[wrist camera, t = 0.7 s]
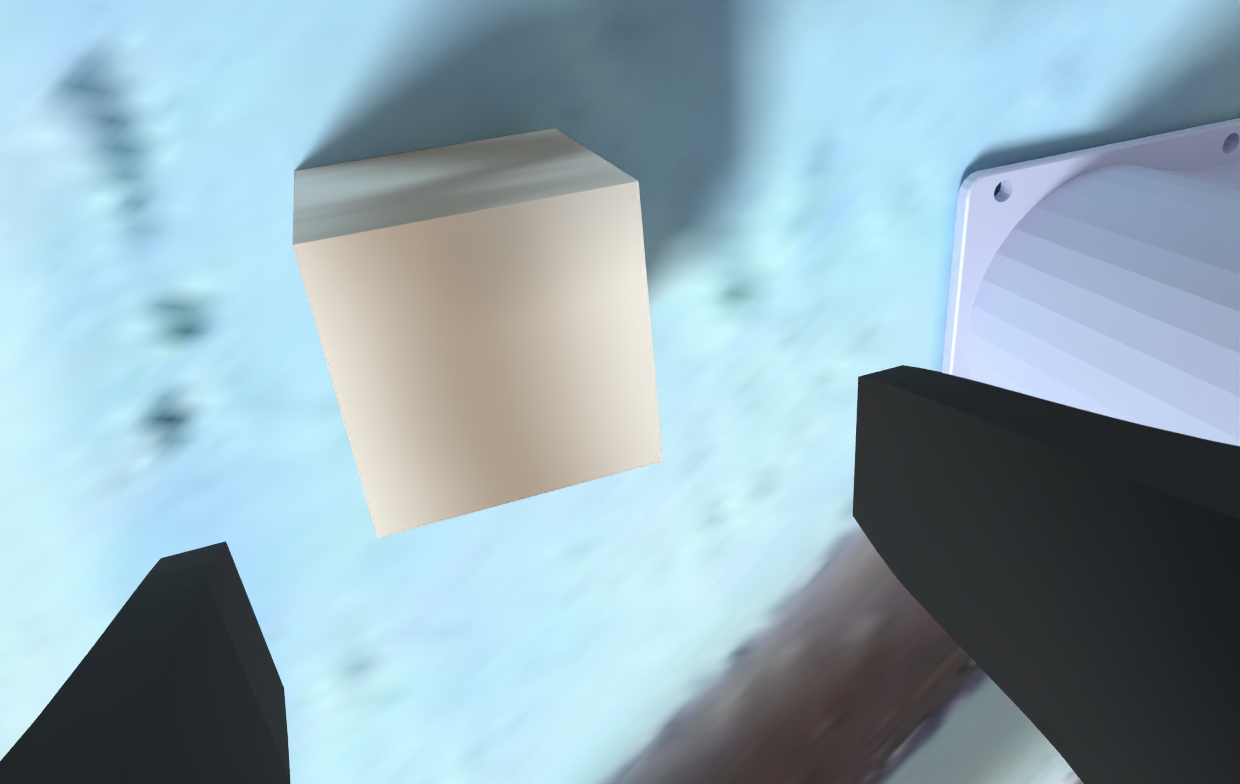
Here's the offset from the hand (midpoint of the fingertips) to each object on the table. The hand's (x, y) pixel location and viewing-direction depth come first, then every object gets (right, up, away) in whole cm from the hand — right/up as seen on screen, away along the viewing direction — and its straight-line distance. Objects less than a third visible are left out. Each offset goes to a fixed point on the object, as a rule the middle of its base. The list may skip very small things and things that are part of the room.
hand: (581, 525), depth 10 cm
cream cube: (-3, +4, +8) cm, 9 cm away
